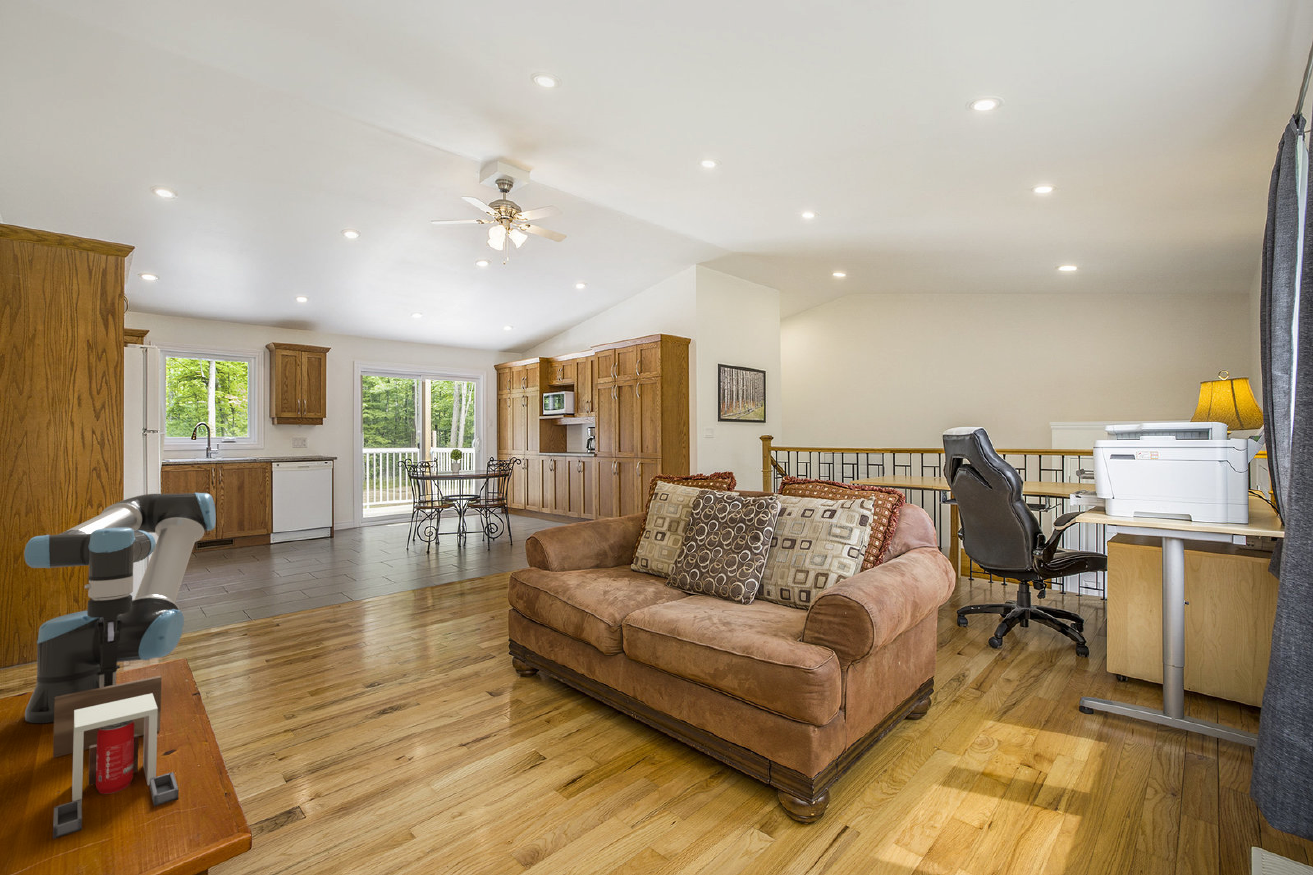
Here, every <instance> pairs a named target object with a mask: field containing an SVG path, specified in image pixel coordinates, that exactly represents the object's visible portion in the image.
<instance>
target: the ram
mask: <svg viewBox="0 0 1313 875" xmlns="http://www.w3.org/2000/svg"><path fill="white" fill-rule="evenodd" d="M151 693H153V696H154V699H155V702H156V705H157V708H158V714H157V732H160V731H161V715H162V713H161V710H162V675H158V676H157V675H156V676H152V677H147V678H141V679H137V680H132V681H127V682H122V683H116V685H111V686H107V687H102V688H97V689H92V690H87V691H82V692H77V693H72V694H67V695H62V696H57V697H55V704H54V722H53V741H52V742H53V743H52V745H53V747H52V750H53V751H52V759H54V758H58V757H62V756H65V755H70V754H73V739H74V710H77V709H82V708H87V707H91V706H96V705H100V704H105V703H109V702H114V701H119V700H123V699H128V698H132V697H137V696H142V695H146V694H151ZM133 723H134V759H133V774H134V773H138V769H139V740H140V739H139V738H140V736H141V737H142V736H144V717H141V718H137V719H133ZM98 730H99V728H95V729H91V730H87V731H84V741H83V751H85V750H88V749H89V751H88V754H89V755H88V786H93V785H96V757H97V732H98Z"/></svg>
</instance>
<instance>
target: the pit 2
mask: <svg viewBox="0 0 1313 875" xmlns="http://www.w3.org/2000/svg"><path fill="white" fill-rule="evenodd" d="M149 791H150V794H151V795H150V796H151V800H152V804H153V807H156V806H159V805H160V806H161V805H163V804H166V803H170V802H173V801H175V800H178V799H179V787H178V784H177V779H176V776H175V774H174V771H172V772H168V773H165V774H161V775H159V776H156V777H154V778H151V779H150V785H149Z"/></svg>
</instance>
